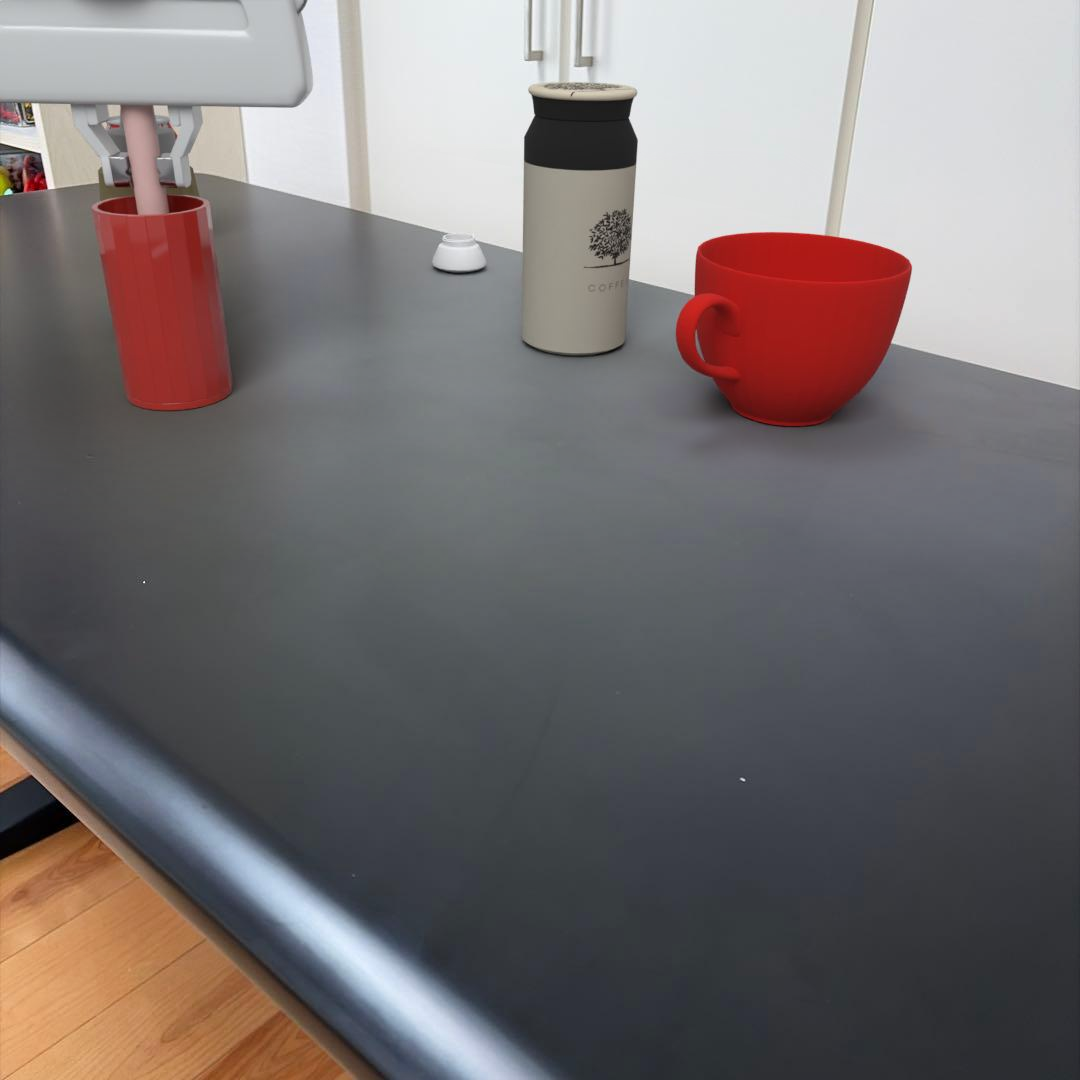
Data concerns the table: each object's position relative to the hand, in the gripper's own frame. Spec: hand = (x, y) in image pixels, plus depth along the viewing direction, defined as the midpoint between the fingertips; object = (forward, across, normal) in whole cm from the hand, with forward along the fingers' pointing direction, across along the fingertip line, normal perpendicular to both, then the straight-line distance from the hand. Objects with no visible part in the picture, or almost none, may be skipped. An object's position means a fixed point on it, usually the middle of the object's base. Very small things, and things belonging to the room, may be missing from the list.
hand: (149, 186), depth 62 cm
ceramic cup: (+13, -38, +4) cm, 40 cm away
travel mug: (+13, -27, -11) cm, 32 cm away
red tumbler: (+13, 0, 0) cm, 13 cm away
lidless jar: (+13, -18, -33) cm, 40 cm away
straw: (+8, 0, 0) cm, 8 cm away
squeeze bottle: (+13, +4, -14) cm, 20 cm away
